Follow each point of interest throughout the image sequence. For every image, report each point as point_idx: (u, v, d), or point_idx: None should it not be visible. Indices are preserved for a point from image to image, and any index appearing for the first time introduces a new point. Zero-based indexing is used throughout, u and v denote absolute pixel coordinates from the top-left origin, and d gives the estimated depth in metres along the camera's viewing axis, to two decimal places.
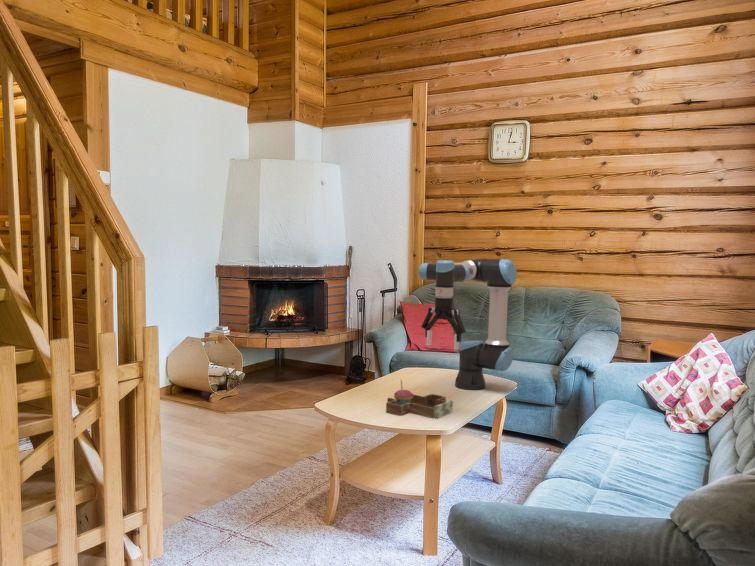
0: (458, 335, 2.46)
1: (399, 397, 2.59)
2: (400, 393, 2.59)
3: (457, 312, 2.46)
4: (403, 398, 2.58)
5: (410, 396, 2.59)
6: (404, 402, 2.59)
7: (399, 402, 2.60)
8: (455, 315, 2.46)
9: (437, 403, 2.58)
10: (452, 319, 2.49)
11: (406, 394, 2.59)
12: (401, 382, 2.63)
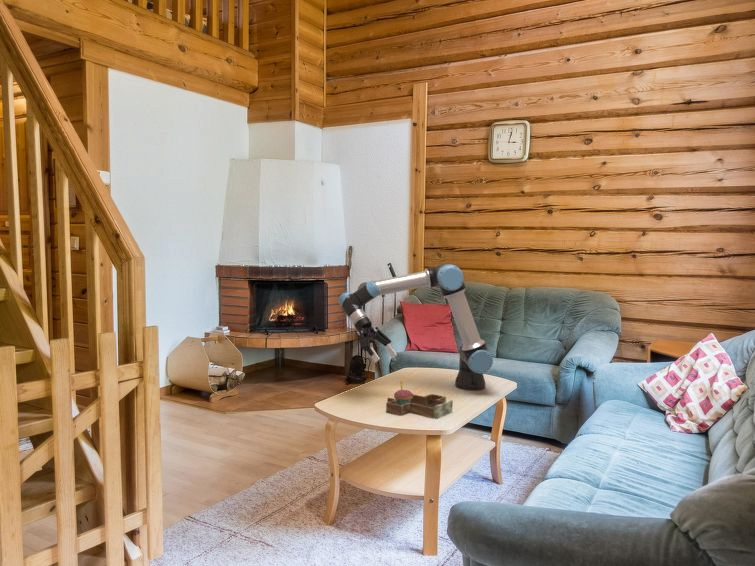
0: None
1: (399, 397, 2.59)
2: (400, 393, 2.59)
3: (357, 333, 2.68)
4: (403, 398, 2.58)
5: (410, 396, 2.59)
6: (404, 402, 2.59)
7: (399, 402, 2.60)
8: None
9: (437, 403, 2.58)
10: (366, 337, 2.69)
11: (406, 394, 2.59)
12: (401, 382, 2.63)
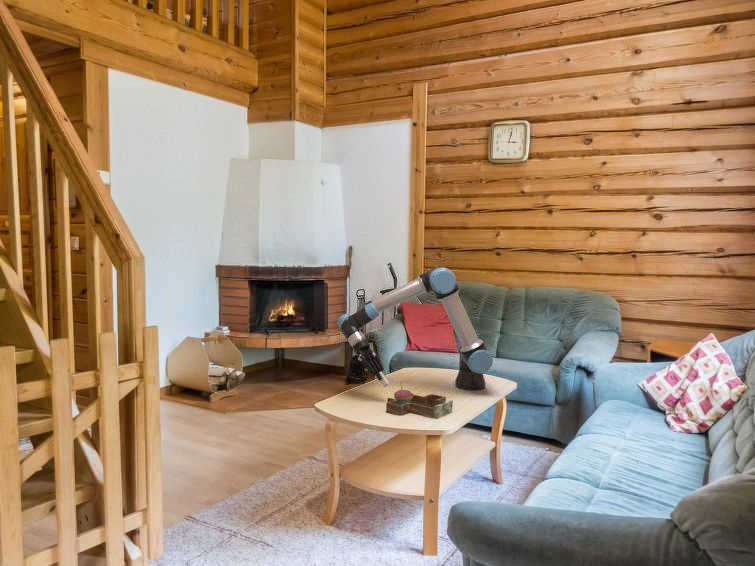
0: None
1: (399, 397, 2.59)
2: (400, 393, 2.59)
3: (359, 359, 2.69)
4: (403, 398, 2.58)
5: (410, 396, 2.59)
6: (404, 402, 2.59)
7: (399, 402, 2.60)
8: None
9: (437, 403, 2.58)
10: (368, 361, 2.71)
11: (406, 394, 2.59)
12: (401, 382, 2.63)
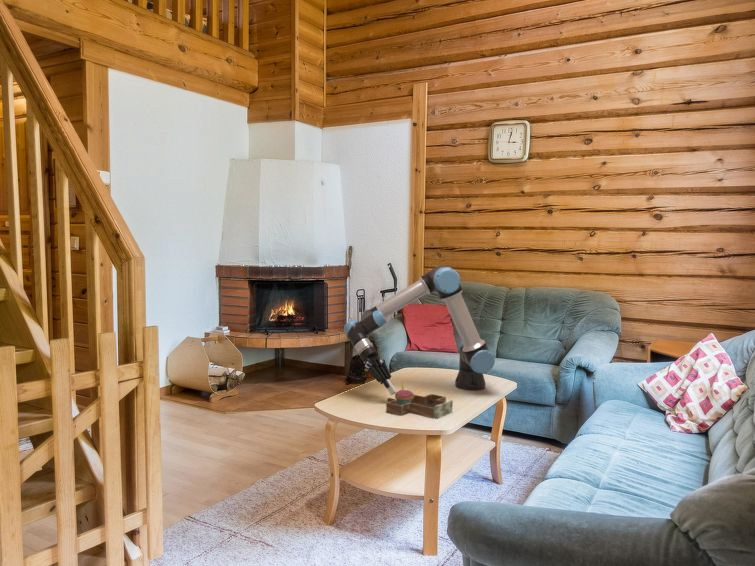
0: None
1: (400, 397, 2.58)
2: (401, 394, 2.59)
3: (366, 367, 2.66)
4: (404, 398, 2.58)
5: (411, 396, 2.59)
6: (405, 402, 2.59)
7: (400, 402, 2.60)
8: None
9: (437, 403, 2.58)
10: (375, 369, 2.68)
11: (407, 395, 2.58)
12: (402, 382, 2.62)
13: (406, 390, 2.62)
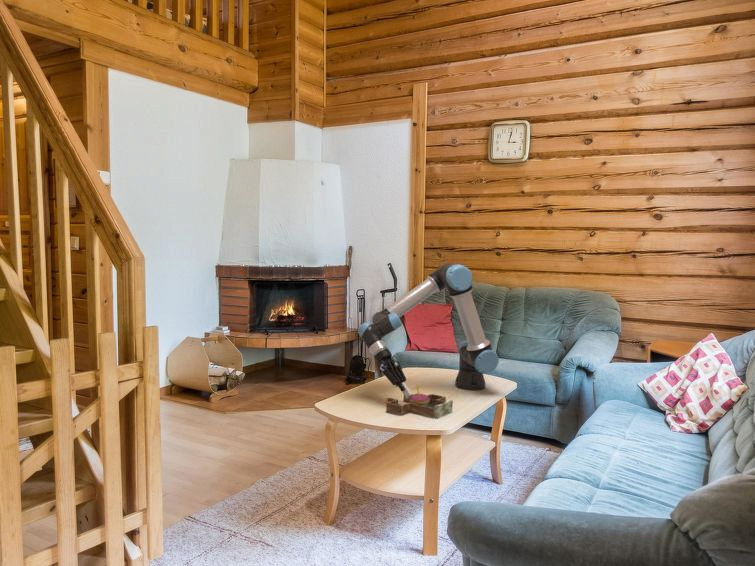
0: None
1: (415, 401, 2.53)
2: (417, 397, 2.53)
3: (381, 370, 2.60)
4: (419, 402, 2.52)
5: (426, 400, 2.53)
6: None
7: None
8: None
9: (437, 403, 2.58)
10: (390, 371, 2.63)
11: (422, 398, 2.53)
12: (417, 386, 2.57)
13: (421, 394, 2.56)
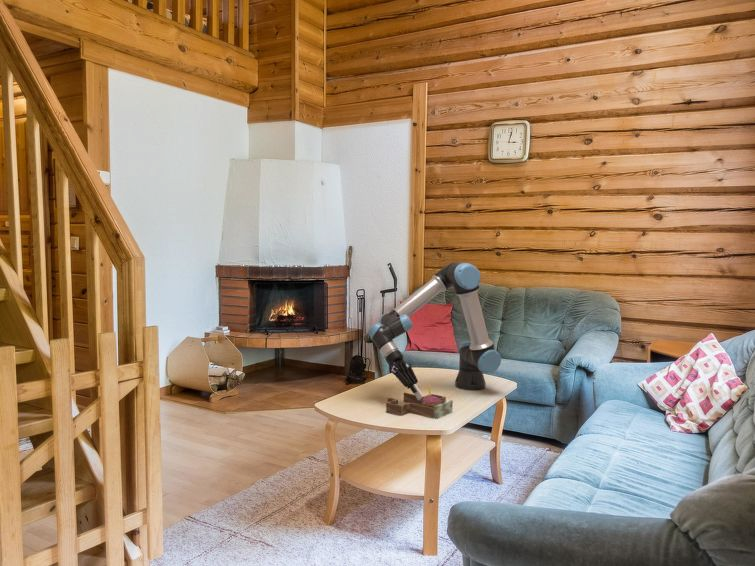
0: None
1: (427, 403, 2.50)
2: (429, 400, 2.50)
3: (393, 371, 2.58)
4: (431, 404, 2.49)
5: (438, 402, 2.50)
6: None
7: None
8: None
9: None
10: (402, 373, 2.60)
11: (434, 401, 2.50)
12: (429, 388, 2.54)
13: (433, 396, 2.53)
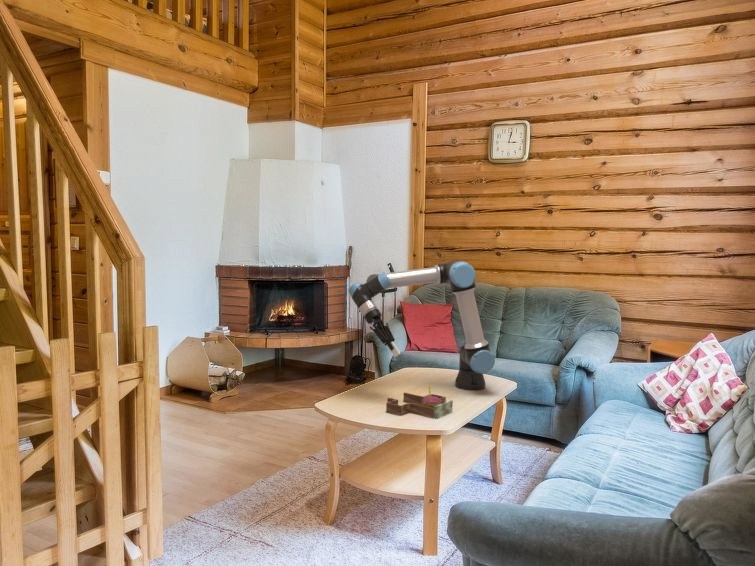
0: None
1: (427, 403, 2.50)
2: (429, 400, 2.50)
3: (372, 327, 2.65)
4: (431, 404, 2.49)
5: (438, 402, 2.50)
6: None
7: None
8: None
9: None
10: (380, 330, 2.68)
11: (434, 401, 2.50)
12: (429, 388, 2.54)
13: (433, 396, 2.53)
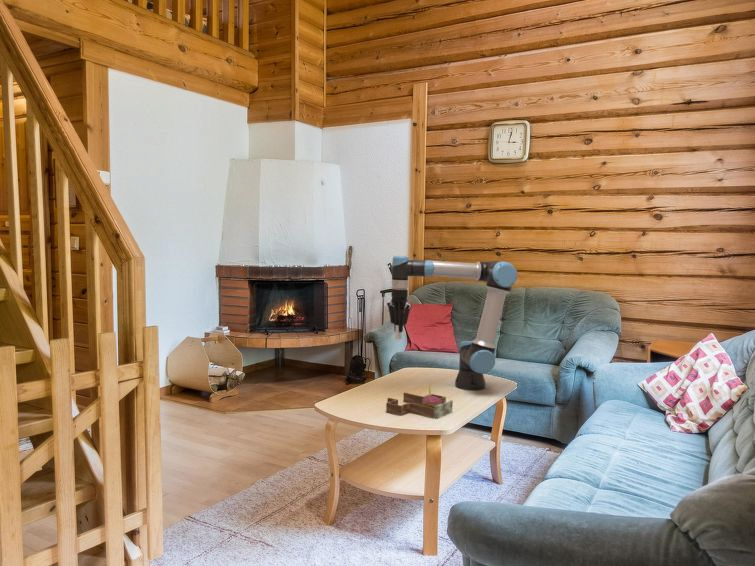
0: (400, 326, 2.78)
1: (427, 403, 2.50)
2: (429, 400, 2.50)
3: (409, 307, 2.75)
4: (431, 404, 2.49)
5: (439, 402, 2.50)
6: None
7: None
8: (406, 309, 2.75)
9: None
10: (402, 311, 2.78)
11: (434, 401, 2.50)
12: (429, 388, 2.54)
13: (433, 396, 2.53)
